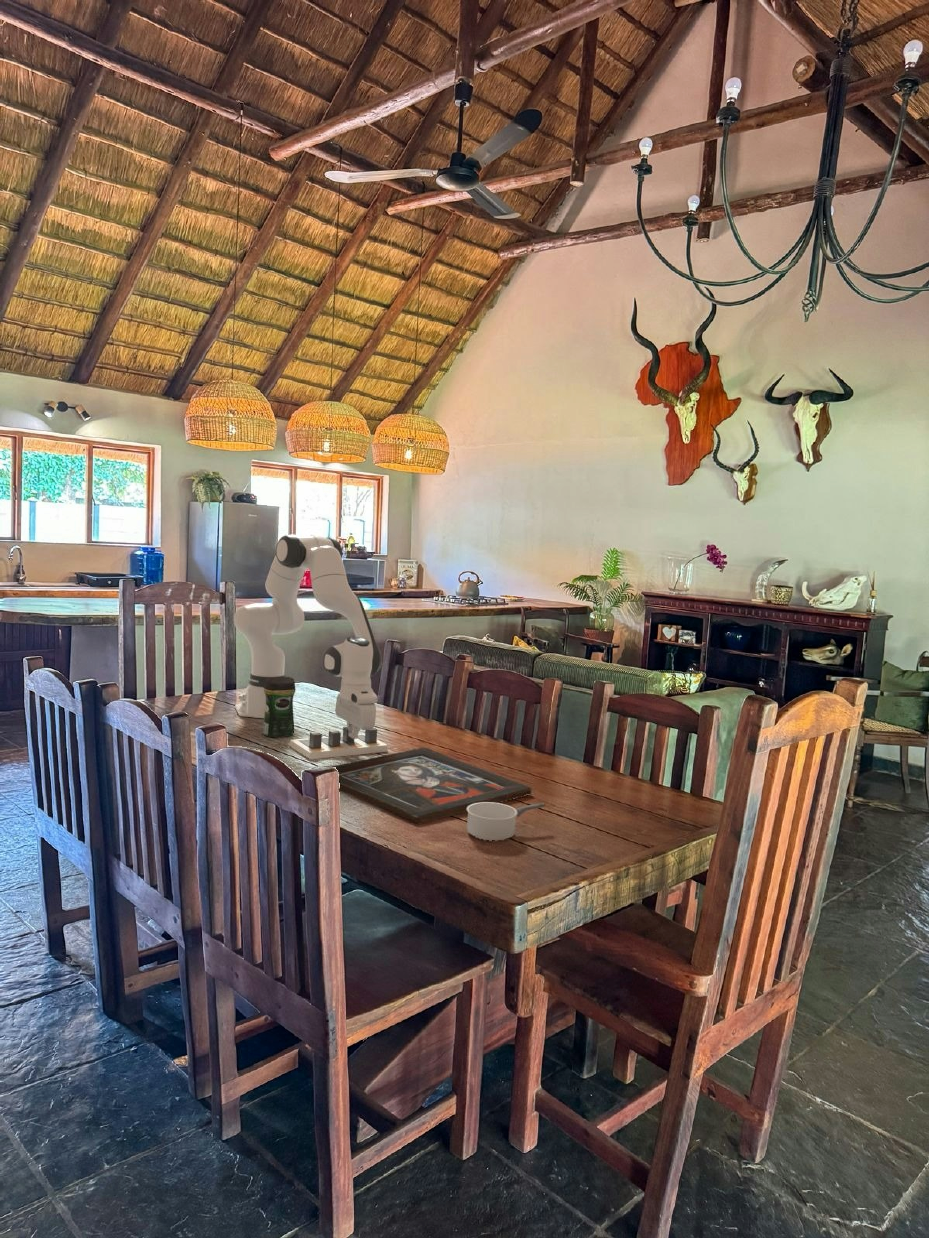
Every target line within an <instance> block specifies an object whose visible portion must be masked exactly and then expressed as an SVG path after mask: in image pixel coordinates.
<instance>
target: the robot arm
mask: <svg viewBox="0 0 929 1238" xmlns="http://www.w3.org/2000/svg"><path fill="white" fill-rule="evenodd" d="M273 558H274V559H273V561H272V563H271V565H270V569H269V571H268V574H267V577H266V580H265V583H264V585H265V590H266V593H267V594H268V595H269V596H270V597H272V600H271V602H268V603H266V602H265V603H264V602H263V603H262V602H259V603H248V604H244V605H241V606H238V608H237V609H236V610H235V614H234V616H233V624H234V627H235V629H236V630H237V632H239V633H240V634H241V635H242V636H243V638H245V639H246V641H247V643H248V645H249V648H250V653H251V654H250V655H251V673H250V674H249V679H248V680H249V681H248V685H247V687H246V688H245V689H244V690H243V691H242V693H241V694H239V695H238V700H239V702H241V703H237V704H235V706H234V708H235V710H236V712H237V714H238V716H239V717H250V718H255V719H264V715H265V707H266V695H265V692H264V685H265V680H266V678H269V677H286V674H285V660H286V657H285V652H284V651H283V650H282V648H281V647H279V646H277V644H275V643H274V639H273V636H275V635H277V636H278V635H289V634H292V633H296V632H298V631H301V629H302V628H303V625H304V624H305V620H306V619H305V613H304V611H303V609H302V607H301V606H300V605H299V604H298V600H297V598H298V594H299V590H300V587H301V583H302V581H303V578H304V575H305V573H306V570H308V571H309V572H310V573H309V574H310V583H311V589H312V593H313V596H314V599H315V600H316V602H317V603H318V604H319V605H320V606H322V607H323V608H325V609H327V610H330V611H333V612H335V613H337V614H340V615H342V616H343V617H345V618H346V619H347V620H348V621H349V622H350V624H351V627H352V630H353V633H354V635H355V636H350V637H347V638H346V639H345V640H344V641H343V642H341V643H339V644H336V645H331V646H329V647H328V648H327V649H326V650H325V652H324V655H323V661H322V662H323V668H324V670H325V671H326V672H327V674H329V675H330V676H332V677H337V678H339V677H341V680H340V681H341V683H340V690H339V692H338V694H337V696H336V700H335V701H336V702H335V716H336V717H337V718H339V719H342V720H343V721H345V722H346V727H348V731H349V734H348V736H349V737H351V738H353V739H357V738H358V734H360V733H359V732H360V730H362V731H365V730H371V729H373V728H375V724H376V716H377V706H376V704H377V703H378V699H379V698H378V695H377V694H376V693H375V692H374V689H373V688H372V679H371V677H374V676H375V675H376V674H377V673H378V671H379V670H381V667H382V666H383V653H382V652H381V650H380V648H379V646H378V644H377V642H376V639H375V635H374V633H373V631H372V628H371V625H370V623H369V618H368V615H367V612H366V610H365V608H364V605H363V602H362V600H361V598H360V597H359V596H357V595H356V594H355V592H354V591H353V589H352V588H351V586H350V585H349V581H348V578H347V577H348V576H347V572H346V569H345V564H344V561H343V549H342V546H341V543H340V542H339V541H338V540H337V539H334V538H331V537H329V536H328V537H324V536H320V535H312V534H310V535H305V534H299V535H298V534H297V535H296V534H285V535H283V536H281V537H280V538H279V540H277V543H276V547H275V556H274V557H273Z"/></svg>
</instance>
